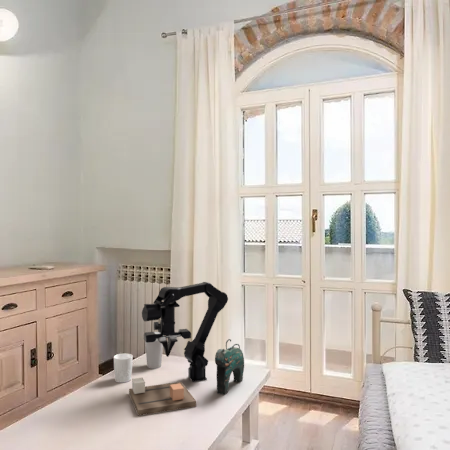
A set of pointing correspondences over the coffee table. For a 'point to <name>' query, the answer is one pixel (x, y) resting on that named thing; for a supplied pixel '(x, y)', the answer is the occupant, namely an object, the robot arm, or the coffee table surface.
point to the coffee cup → (154, 353)
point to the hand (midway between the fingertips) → (167, 356)
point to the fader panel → (160, 399)
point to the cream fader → (138, 385)
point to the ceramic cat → (228, 366)
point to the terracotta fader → (176, 392)
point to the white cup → (123, 367)
